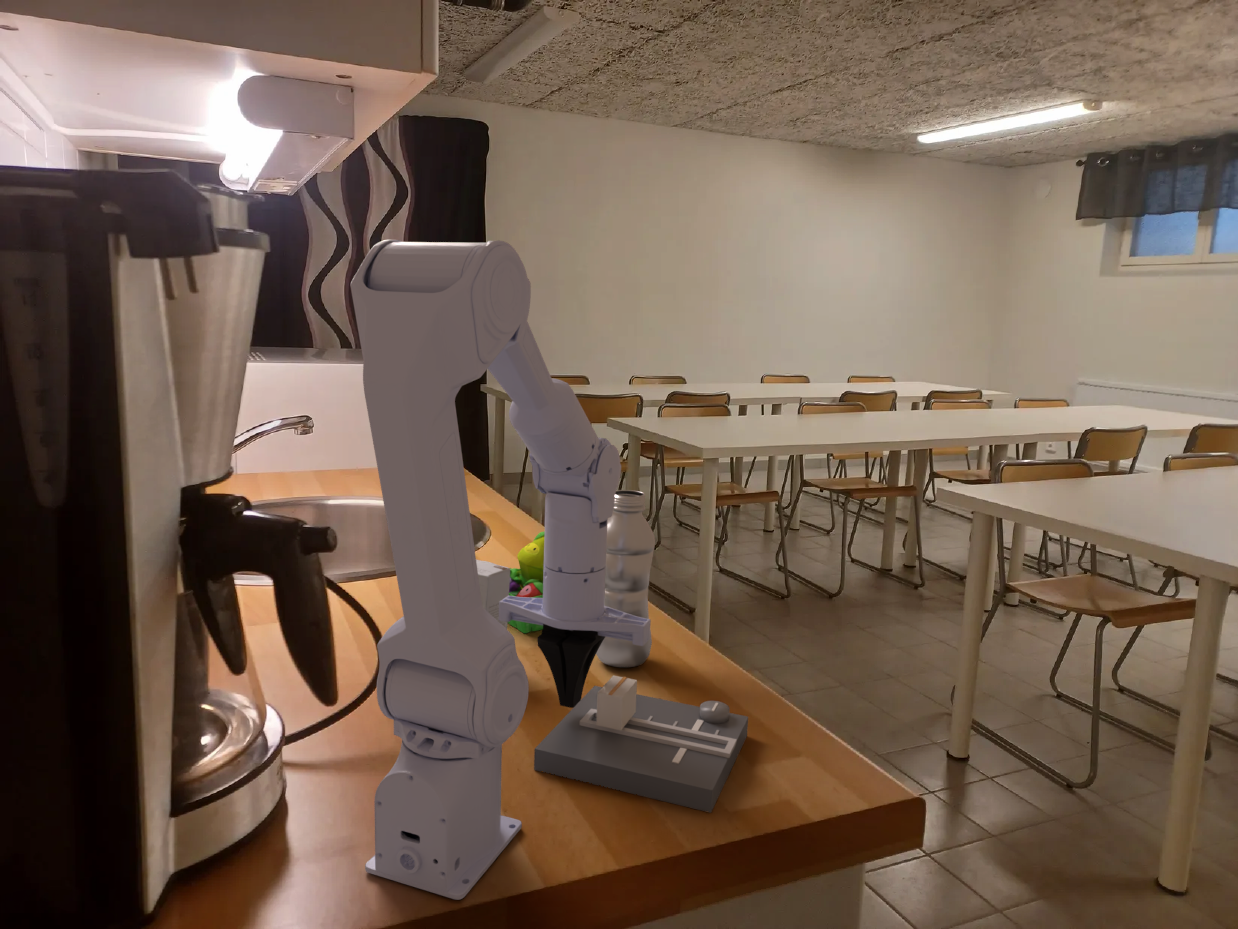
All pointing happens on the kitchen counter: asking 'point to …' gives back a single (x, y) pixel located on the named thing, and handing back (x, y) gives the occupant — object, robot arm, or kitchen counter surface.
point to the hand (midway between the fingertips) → (570, 702)
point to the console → (649, 749)
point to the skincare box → (493, 586)
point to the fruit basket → (528, 578)
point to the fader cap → (616, 702)
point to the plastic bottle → (627, 574)
